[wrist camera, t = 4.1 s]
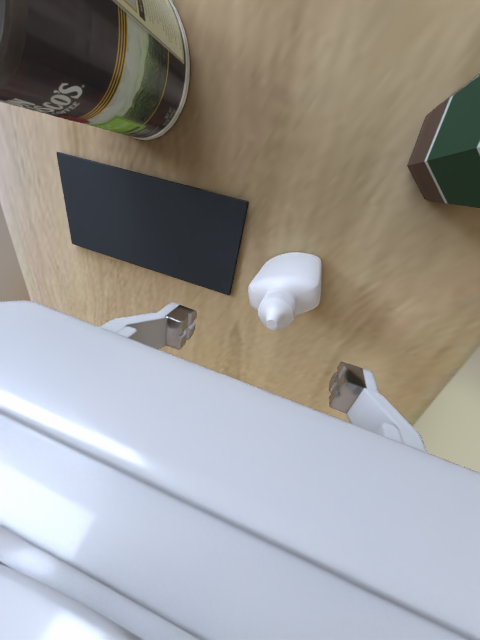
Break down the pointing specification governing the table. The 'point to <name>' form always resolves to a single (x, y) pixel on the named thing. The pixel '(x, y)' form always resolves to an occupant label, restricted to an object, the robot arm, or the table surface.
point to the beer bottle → (450, 150)
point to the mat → (153, 222)
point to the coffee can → (96, 62)
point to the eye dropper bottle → (286, 288)
